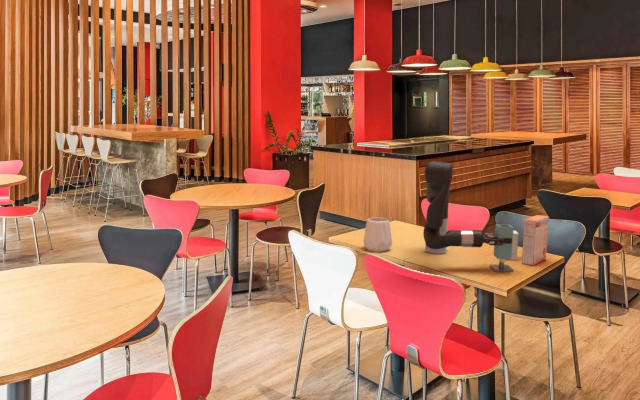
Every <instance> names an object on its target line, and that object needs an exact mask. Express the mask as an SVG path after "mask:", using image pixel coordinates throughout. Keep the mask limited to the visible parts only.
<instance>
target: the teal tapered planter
mask: <svg viewBox="0 0 640 400" xmlns="http://www.w3.org/2000/svg"><path fill="white" fill-rule="evenodd" d="M494 229H495V230H494V233H495V236H497V237H498V238H511V239H512V241H513V230H514V226H512V225H511V224H509V223H508V224H506V223H500V224H499V223H496V224H495V228H494ZM498 242H500V241H498ZM511 254H512V243H511V244H503V245H493V256H494V258H496V259H498V260H499V259H505V260H510V259H511Z"/></svg>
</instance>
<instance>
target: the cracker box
mask: <svg viewBox="0 0 640 400" xmlns="http://www.w3.org/2000/svg"><path fill="white" fill-rule="evenodd" d="M549 219H550V218H549V216H548V215H543V214H542V215H541V214H536V215H533V216H531V217H528V218H525V219H524V220H523V232H522V233H523V237H522V238H523V239H522V252H521V253H522V254H521V264H524V265H528V266H533V267H534V266H536V265H538V264H539V263H542V262H543V261H545V260H547V250H548V249H547V245H548V235H549V234H548V233H549V232H548V231H549Z"/></svg>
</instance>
